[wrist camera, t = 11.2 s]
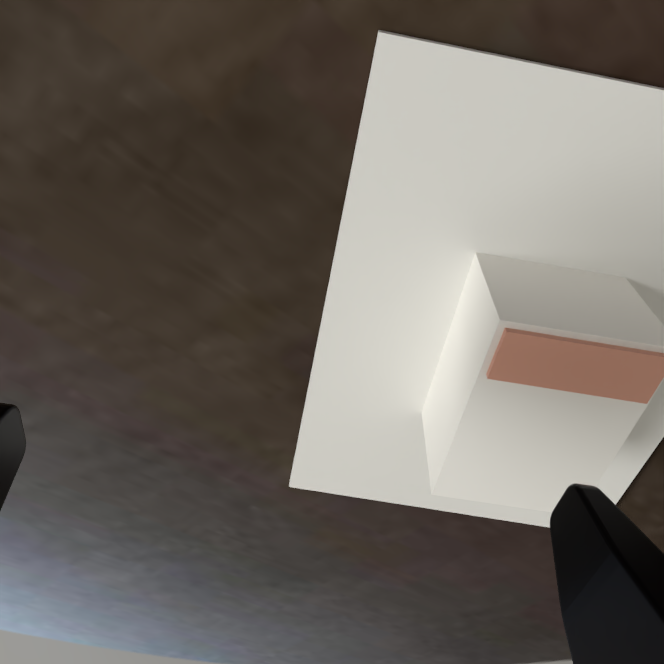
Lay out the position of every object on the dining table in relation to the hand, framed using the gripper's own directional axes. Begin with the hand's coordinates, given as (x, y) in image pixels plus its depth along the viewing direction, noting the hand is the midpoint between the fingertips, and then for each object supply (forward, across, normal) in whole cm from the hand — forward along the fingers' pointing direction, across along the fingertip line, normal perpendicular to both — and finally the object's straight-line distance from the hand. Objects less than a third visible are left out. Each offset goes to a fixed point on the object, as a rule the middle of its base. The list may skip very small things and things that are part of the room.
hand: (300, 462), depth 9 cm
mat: (+10, -8, +4) cm, 14 cm away
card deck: (+10, -8, +4) cm, 13 cm away
